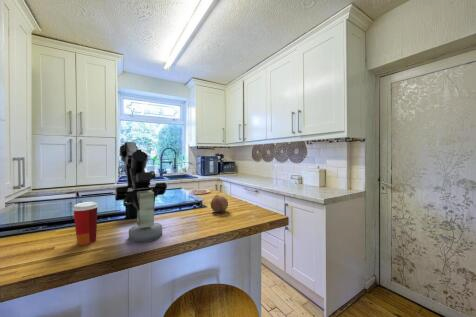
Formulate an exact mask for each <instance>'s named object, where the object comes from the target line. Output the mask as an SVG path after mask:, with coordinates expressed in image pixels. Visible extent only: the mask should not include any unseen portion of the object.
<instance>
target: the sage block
mask: <svg viewBox="0 0 476 317" xmlns="http://www.w3.org/2000/svg"><path fill="white" fill-rule="evenodd" d="M137 201H138V204H139V209H140V210H139V211H138V210H137V218H136V221H137V222H136V224H137V225H138V226H139V227H140V228H144V227H149V226H154V223H155V205H154V192H152V191H151V190H148V191H139V192H137Z"/></svg>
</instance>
